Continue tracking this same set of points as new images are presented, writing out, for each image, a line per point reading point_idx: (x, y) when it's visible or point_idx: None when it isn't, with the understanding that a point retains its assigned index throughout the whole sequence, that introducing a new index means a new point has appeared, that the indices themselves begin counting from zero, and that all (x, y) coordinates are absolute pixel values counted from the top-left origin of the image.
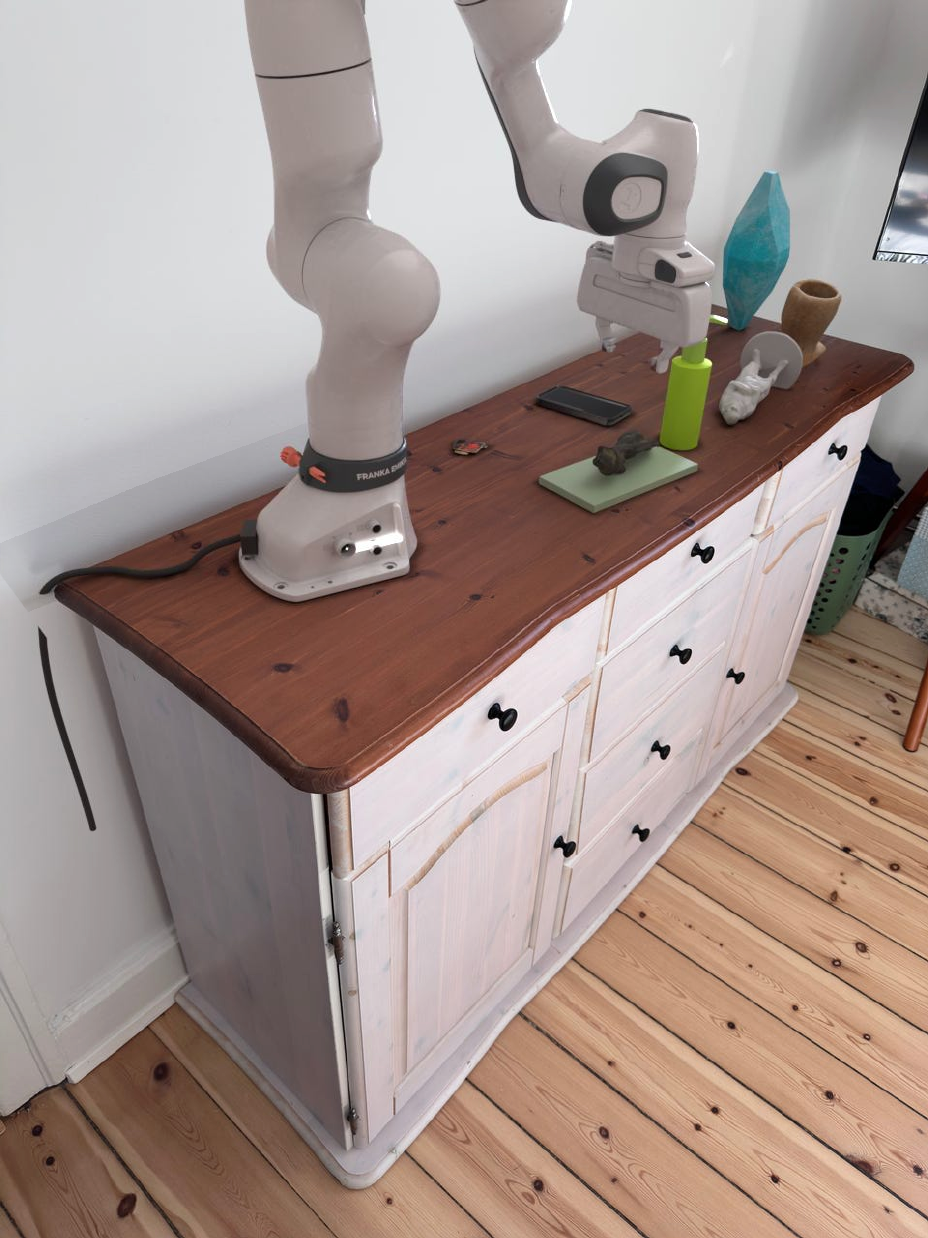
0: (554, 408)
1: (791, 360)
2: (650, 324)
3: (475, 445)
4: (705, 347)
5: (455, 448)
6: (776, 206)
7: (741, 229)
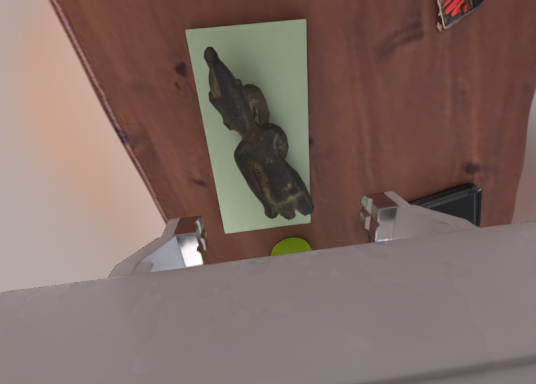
0: (444, 192)
1: None
2: (171, 300)
3: (452, 9)
4: None
5: None
6: None
7: None
